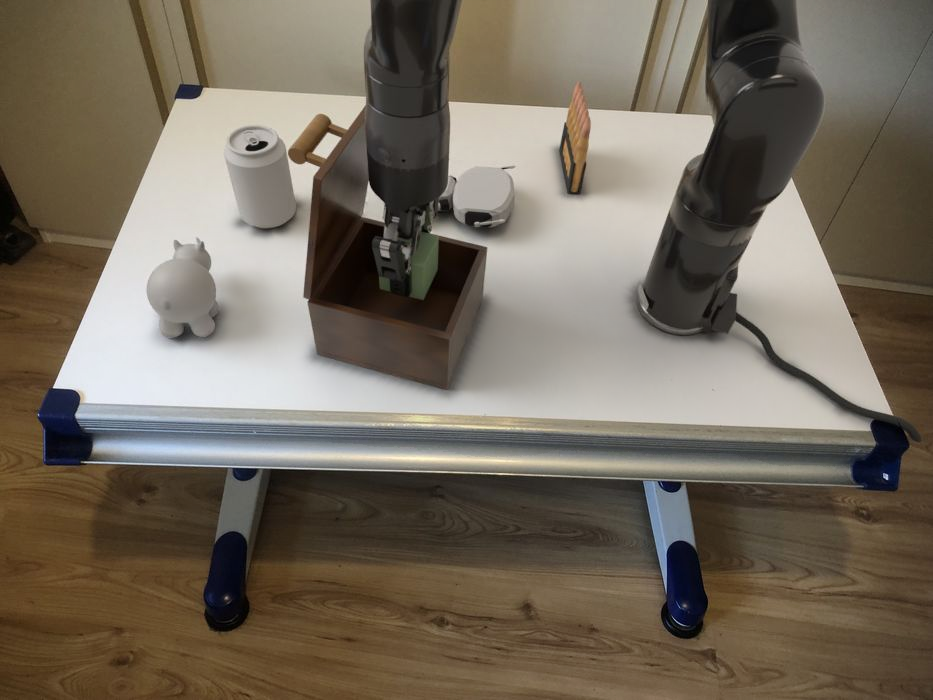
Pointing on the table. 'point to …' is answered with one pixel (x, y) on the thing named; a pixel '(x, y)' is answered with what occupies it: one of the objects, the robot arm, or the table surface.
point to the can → (260, 176)
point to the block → (420, 266)
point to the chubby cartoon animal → (184, 291)
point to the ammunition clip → (575, 141)
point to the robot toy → (480, 196)
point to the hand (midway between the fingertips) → (409, 275)
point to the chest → (398, 310)
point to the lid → (332, 192)
